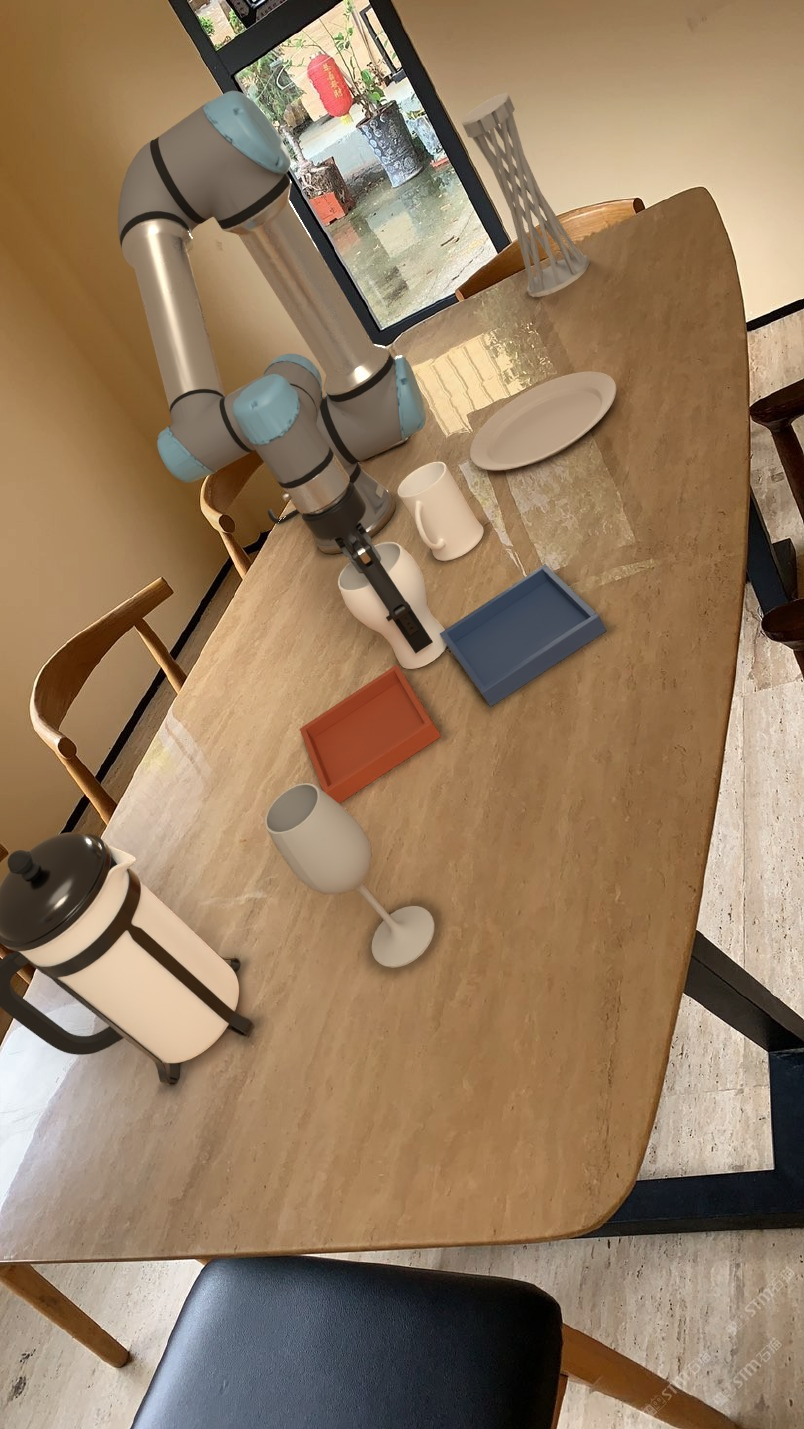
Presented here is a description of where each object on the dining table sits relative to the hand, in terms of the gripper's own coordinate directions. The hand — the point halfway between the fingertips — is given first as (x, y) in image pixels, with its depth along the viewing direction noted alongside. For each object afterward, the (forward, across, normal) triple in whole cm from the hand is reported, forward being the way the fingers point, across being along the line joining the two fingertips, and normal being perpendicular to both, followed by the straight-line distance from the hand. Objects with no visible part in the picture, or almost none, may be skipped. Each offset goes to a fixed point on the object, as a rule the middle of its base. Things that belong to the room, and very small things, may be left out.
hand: (411, 628), depth 139 cm
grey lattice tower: (+4, -92, +65) cm, 113 cm away
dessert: (+4, -71, +16) cm, 73 cm away
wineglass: (+4, +44, -18) cm, 48 cm away
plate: (+4, -36, +36) cm, 51 cm away
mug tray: (+4, +11, +11) cm, 16 cm away
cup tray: (+4, +11, -12) cm, 17 cm away
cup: (+4, 0, 0) cm, 4 cm away
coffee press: (+4, +39, -43) cm, 58 cm away
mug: (+4, -19, +12) cm, 23 cm away
